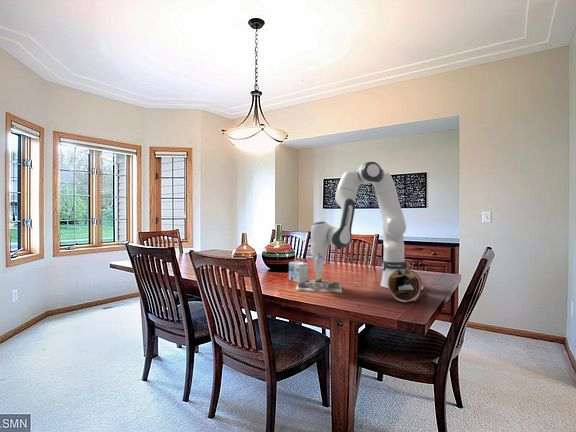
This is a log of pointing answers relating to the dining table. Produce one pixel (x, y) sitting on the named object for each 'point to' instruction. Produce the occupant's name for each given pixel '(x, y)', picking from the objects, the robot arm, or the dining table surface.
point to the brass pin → (319, 279)
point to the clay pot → (401, 279)
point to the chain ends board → (318, 286)
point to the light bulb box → (298, 271)
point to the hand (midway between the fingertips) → (318, 277)
